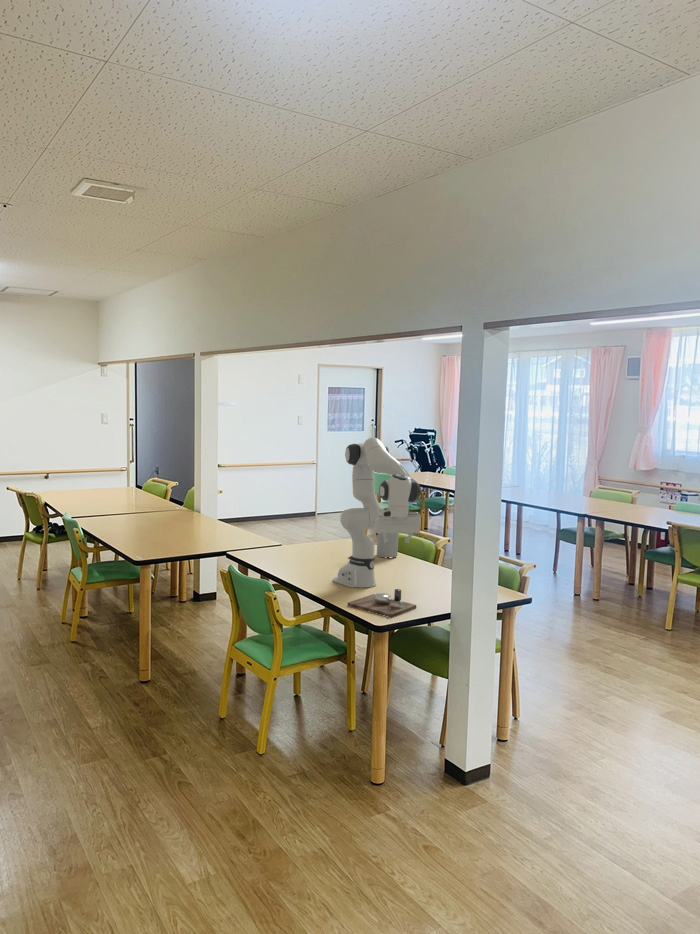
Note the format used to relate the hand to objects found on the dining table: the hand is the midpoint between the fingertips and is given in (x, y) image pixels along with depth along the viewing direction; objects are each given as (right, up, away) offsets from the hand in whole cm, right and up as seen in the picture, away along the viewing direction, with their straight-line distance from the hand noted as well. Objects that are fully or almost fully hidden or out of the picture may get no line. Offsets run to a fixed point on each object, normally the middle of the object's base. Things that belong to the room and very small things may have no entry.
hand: (396, 543), depth 301 cm
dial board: (-6, -30, +10) cm, 32 cm away
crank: (-3, -28, +10) cm, 30 cm away
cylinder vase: (+2, -21, +115) cm, 117 cm away
